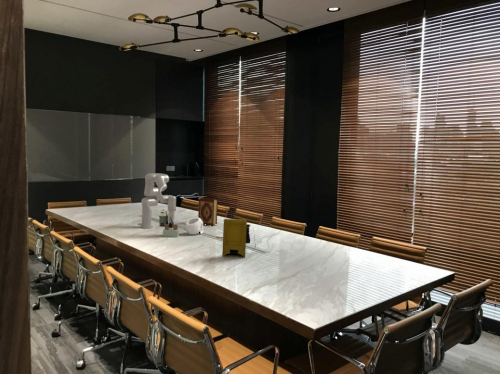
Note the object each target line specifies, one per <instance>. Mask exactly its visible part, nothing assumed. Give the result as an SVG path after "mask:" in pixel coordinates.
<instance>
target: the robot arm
mask: <svg viewBox="0 0 500 374" xmlns="http://www.w3.org/2000/svg"><path fill="white" fill-rule="evenodd" d="M144 179H145V185H144V192H143V194H144V196H145V197H143V198H142V199H141V212H142V213H141V223H139V222H138V223H137V226H140V229H153V225H152V216H153V215H152V213H153V212H152V208H151V207H157V206H158V205H159V203H161V204H167V211H168V214H167V222H168V224H169V229H170V228H172V224H174V225H175V223H174V220H175V212H176V210H177V197H176V196H174V195H171V194H169V195H168V194H164V195H163V194H162V192H164V191H165V190H166V189H167V188H168V186H167V183H168V182H170V176H169V175H168V174H165V173H154V172H153V173H151V172H150V173H147V174H146V175H145V177H144ZM155 185H156V186H157V187H154V186H155ZM172 229H173V228H172Z"/></svg>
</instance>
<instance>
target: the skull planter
mask: <svg viewBox="0 0 500 374" xmlns="http://www.w3.org/2000/svg"><path fill="white" fill-rule="evenodd" d="M204 226H205V225H203V222H202V220H201V219H200V218H199V217H198V216H196V217H192V218H189V219H188V220H187V221H186V223H185V225H184V228H185V231H186V233H187V234H188V235H190V236H191V235H193V236H195V235H197V234H201V235H203V234H204ZM199 232H200V233H199ZM202 233H203V234H202Z"/></svg>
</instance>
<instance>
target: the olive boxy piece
mask: <svg viewBox="0 0 500 374" xmlns="http://www.w3.org/2000/svg"><path fill="white" fill-rule="evenodd" d="M248 223H250V221H249V222H248V220H247V219H240V218H239V219H237V218H224V219H223V225H222V226H223V227H222V228H223V229H222V230H223V231H222V232H223V233H222V236H216V239H222V251H221V252H222V254H221V257H222V256H224V257H225V256H226V255H227V254H237V255H241V256H242V258H246V250H247V249H246V247H247V245H248V244H251V236H250V227H251V224H248ZM252 228H253V231H254V228H255V227H252ZM255 237H256V236H253V238H254V240H256V239H255ZM254 246H255V247H254V249H253V250H255V248H256V244H254ZM247 254H248V255H249V254H250V253H248V252H247Z"/></svg>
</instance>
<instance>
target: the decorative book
mask: <svg viewBox="0 0 500 374" xmlns="http://www.w3.org/2000/svg"><path fill="white" fill-rule="evenodd" d="M218 203H219V199H218V198H213V197H211V198H210V197H209V198H208V197H198V212H197V213H198V214H197V217H199V218H200V219H201V220H202V222H203V224H206V225H205V226H208V225H213V226H216V225H215V224H217V225H218V206H219V204H218Z"/></svg>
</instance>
